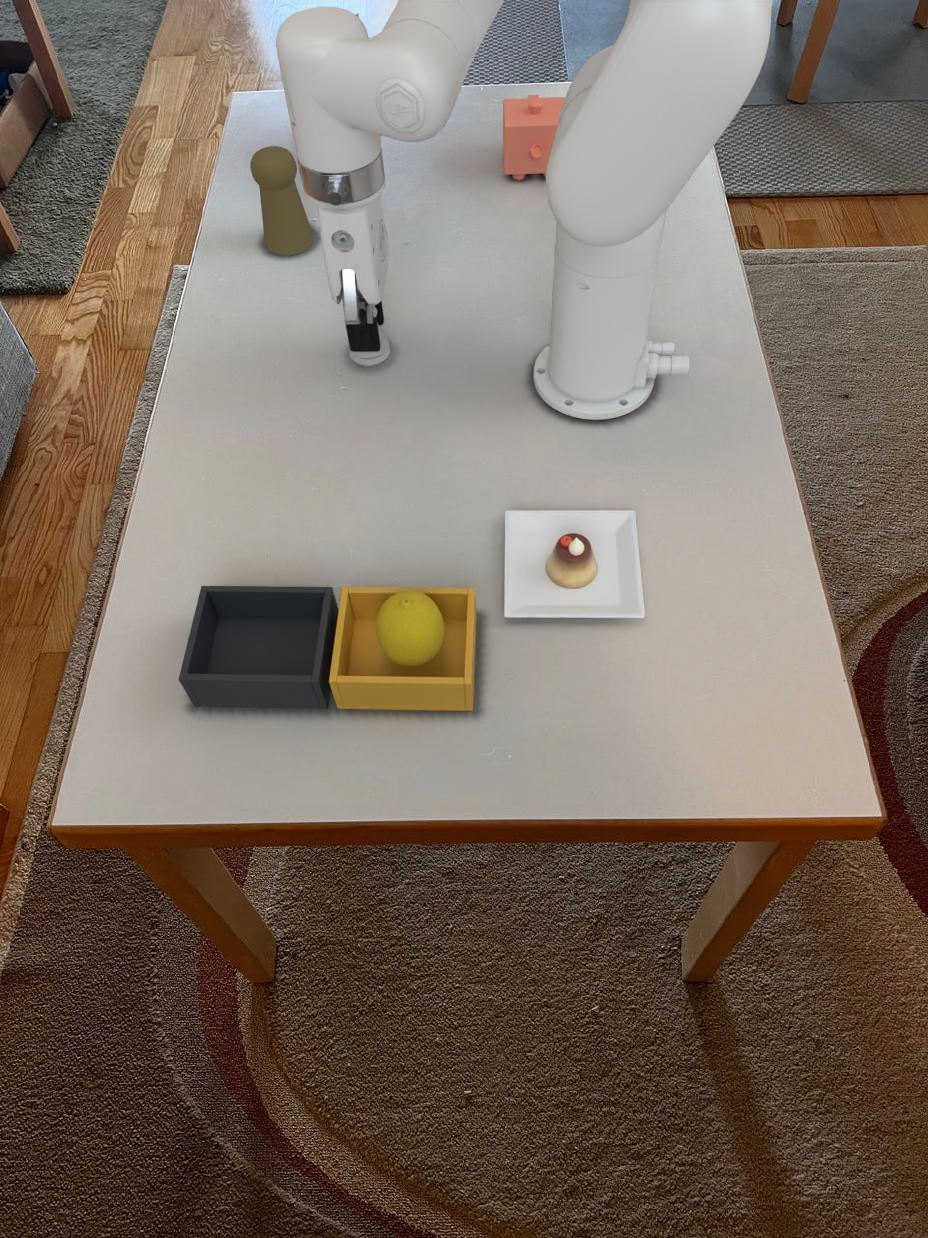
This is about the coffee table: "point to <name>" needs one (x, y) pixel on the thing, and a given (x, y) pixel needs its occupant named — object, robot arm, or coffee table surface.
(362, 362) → the rook chess piece
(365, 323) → the robot arm
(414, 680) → the ochre bin
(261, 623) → the charcoal bin
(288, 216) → the pawn chess piece
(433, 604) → the lemon
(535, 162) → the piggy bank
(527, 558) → the dessert
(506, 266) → the coffee table surface
